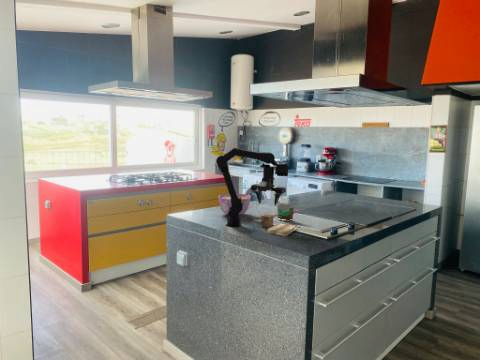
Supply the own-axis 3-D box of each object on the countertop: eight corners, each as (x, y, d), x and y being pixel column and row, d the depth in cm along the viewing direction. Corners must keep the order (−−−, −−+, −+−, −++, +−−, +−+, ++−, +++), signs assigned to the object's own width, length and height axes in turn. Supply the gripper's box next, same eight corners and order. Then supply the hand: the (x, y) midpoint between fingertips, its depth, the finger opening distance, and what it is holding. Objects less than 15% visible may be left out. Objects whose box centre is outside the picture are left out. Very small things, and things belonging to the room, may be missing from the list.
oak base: (267, 233, 190) (267, 229, 189) (278, 226, 202) (278, 223, 202) (285, 236, 185) (285, 232, 185) (295, 229, 197) (295, 226, 197)
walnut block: (260, 226, 202) (261, 215, 201) (264, 224, 206) (265, 214, 206) (269, 227, 200) (269, 217, 199) (273, 225, 204) (273, 215, 203)
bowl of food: (217, 218, 217) (217, 199, 215) (218, 211, 237) (218, 193, 235) (251, 219, 218) (252, 199, 216) (249, 211, 237) (249, 193, 236)
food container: (271, 219, 219) (271, 202, 217) (277, 217, 223) (278, 201, 222) (287, 223, 210) (288, 205, 209) (294, 221, 215) (295, 204, 213)
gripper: (246, 176, 197) (245, 204, 199) (278, 179, 187) (277, 209, 190) (255, 173, 206) (254, 201, 208) (286, 176, 197) (285, 205, 199)
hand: (267, 204), depth 201 cm, fingers open, 9 cm apart
